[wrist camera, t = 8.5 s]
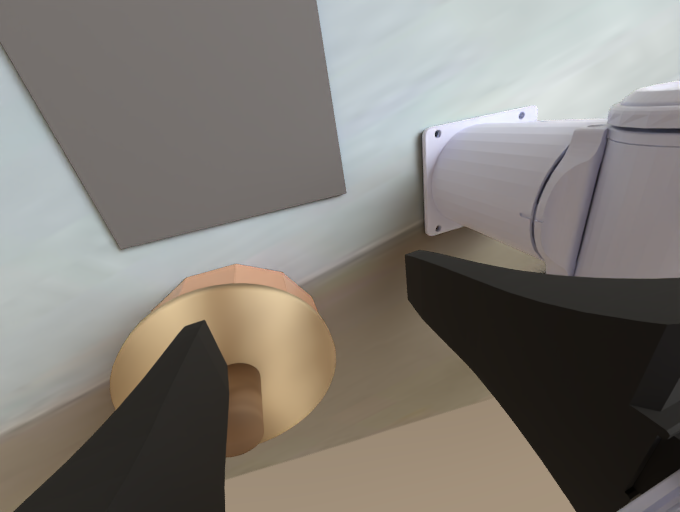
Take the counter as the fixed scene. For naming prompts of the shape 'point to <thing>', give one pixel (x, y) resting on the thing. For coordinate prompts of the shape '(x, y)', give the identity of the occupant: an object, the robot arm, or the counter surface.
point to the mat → (182, 106)
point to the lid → (242, 355)
